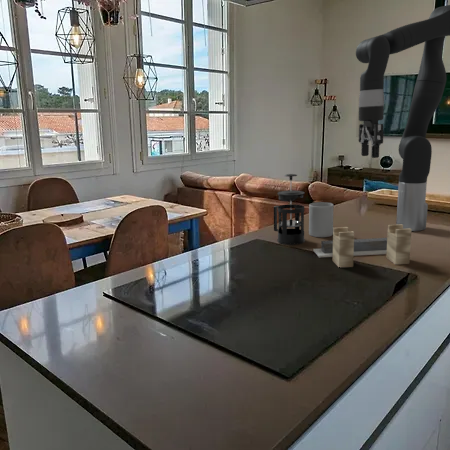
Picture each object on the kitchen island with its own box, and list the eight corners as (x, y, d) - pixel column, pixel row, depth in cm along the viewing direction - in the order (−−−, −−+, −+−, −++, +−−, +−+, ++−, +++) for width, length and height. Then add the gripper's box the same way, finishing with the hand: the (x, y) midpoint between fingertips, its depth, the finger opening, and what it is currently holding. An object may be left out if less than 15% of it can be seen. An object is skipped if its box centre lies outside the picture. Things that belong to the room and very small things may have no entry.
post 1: (346, 259, 124) (347, 226, 122) (353, 266, 118) (354, 232, 116) (332, 260, 124) (333, 227, 121) (338, 267, 118) (339, 232, 116)
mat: (393, 246, 135) (394, 244, 135) (404, 252, 128) (404, 251, 128) (313, 250, 134) (313, 248, 134) (319, 257, 127) (319, 255, 127)
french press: (311, 239, 146) (312, 173, 140) (298, 246, 139) (298, 176, 133) (282, 235, 153) (281, 171, 147) (267, 241, 146) (266, 175, 140)
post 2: (399, 257, 125) (401, 224, 122) (409, 263, 119) (411, 229, 116) (386, 257, 124) (388, 224, 122) (395, 264, 119) (397, 229, 116)
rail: (390, 246, 133) (390, 237, 132) (394, 249, 130) (395, 240, 129) (321, 250, 132) (321, 241, 131) (323, 253, 129) (324, 243, 128)
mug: (333, 237, 148) (334, 206, 145) (308, 237, 149) (309, 206, 147) (331, 229, 159) (332, 200, 156) (308, 228, 161) (309, 200, 158)
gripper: (392, 103, 128) (390, 157, 131) (373, 105, 141) (372, 154, 145) (368, 105, 127) (366, 159, 131) (351, 106, 141) (351, 155, 145)
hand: (369, 156), depth 138 cm, fingers open, 8 cm apart
